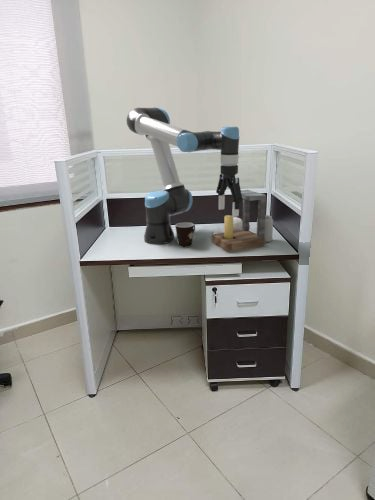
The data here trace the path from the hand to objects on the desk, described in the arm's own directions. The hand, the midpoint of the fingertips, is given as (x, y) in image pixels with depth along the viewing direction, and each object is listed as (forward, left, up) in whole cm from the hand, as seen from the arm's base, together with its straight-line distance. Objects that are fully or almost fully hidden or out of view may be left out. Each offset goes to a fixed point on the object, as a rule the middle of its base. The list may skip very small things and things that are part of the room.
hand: (228, 212), depth 157 cm
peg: (0, 0, -16) cm, 16 cm away
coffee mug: (-10, -16, -16) cm, 25 cm away
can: (+1, +19, -16) cm, 25 cm away
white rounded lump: (-14, +13, -16) cm, 24 cm away
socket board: (0, +5, -16) cm, 16 cm away
